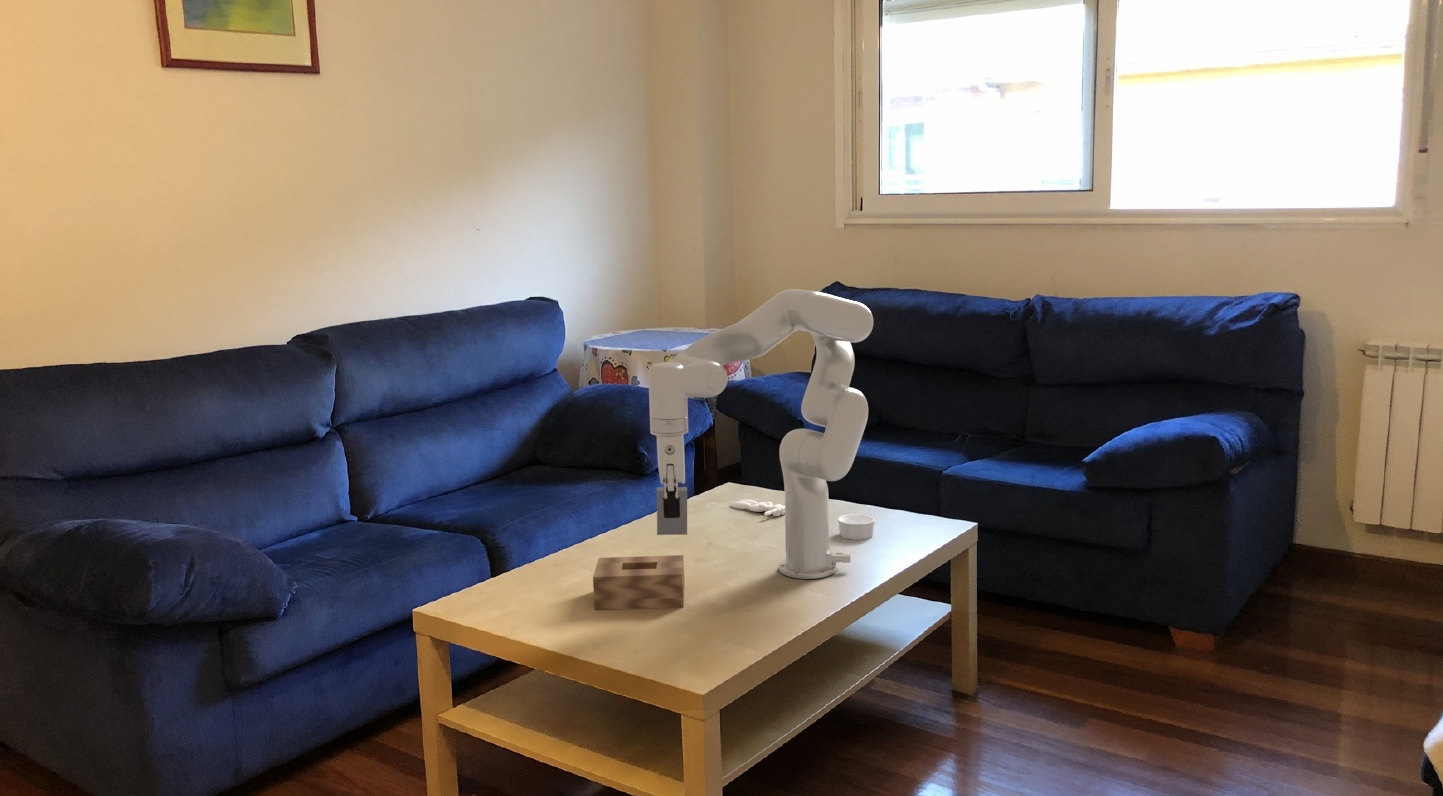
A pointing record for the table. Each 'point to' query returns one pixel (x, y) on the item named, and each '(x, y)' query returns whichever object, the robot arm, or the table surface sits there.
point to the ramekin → (856, 526)
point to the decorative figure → (760, 507)
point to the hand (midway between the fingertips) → (672, 514)
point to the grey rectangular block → (672, 524)
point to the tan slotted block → (639, 582)
